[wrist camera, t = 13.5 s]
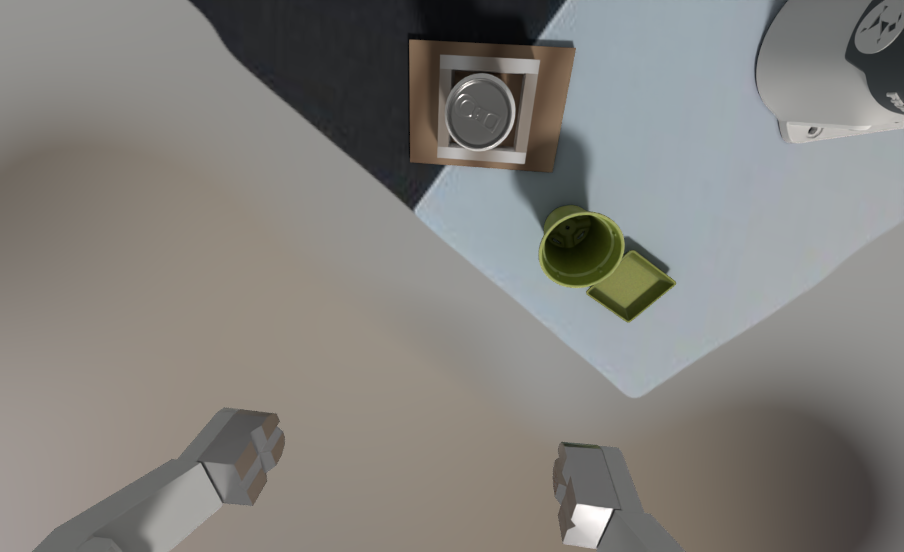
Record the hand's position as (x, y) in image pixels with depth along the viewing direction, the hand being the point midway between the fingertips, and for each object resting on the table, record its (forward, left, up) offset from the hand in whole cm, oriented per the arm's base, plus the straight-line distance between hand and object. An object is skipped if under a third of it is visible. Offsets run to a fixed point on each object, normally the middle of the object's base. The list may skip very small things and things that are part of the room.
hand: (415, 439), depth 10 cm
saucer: (-23, +15, -40) cm, 48 cm away
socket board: (-1, -7, -40) cm, 40 cm away
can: (-1, -7, -39) cm, 39 cm away
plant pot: (-13, +7, -39) cm, 42 cm away
